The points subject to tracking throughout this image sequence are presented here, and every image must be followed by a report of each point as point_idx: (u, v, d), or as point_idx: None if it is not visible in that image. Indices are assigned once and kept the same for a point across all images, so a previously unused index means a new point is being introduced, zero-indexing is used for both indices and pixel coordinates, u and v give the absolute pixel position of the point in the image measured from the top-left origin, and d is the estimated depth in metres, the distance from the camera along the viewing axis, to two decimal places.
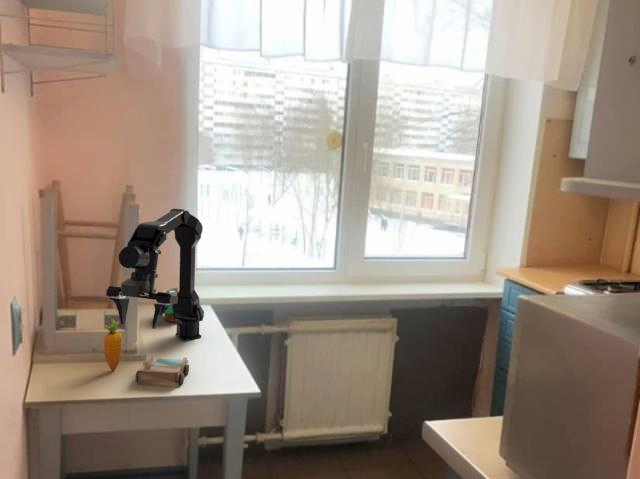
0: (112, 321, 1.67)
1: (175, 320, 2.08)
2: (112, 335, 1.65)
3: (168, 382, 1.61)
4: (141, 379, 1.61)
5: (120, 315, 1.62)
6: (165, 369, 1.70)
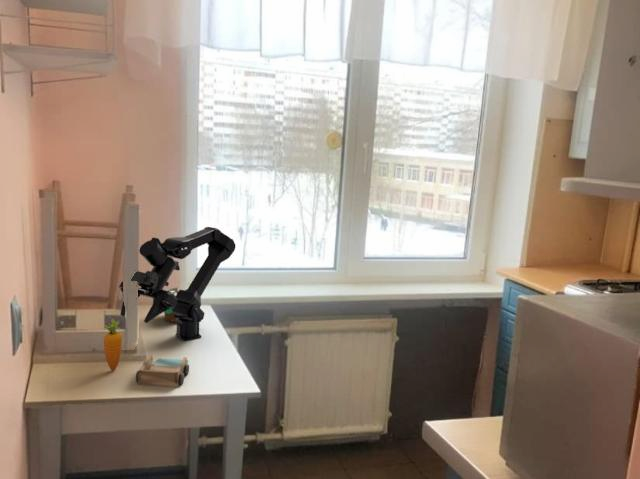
0: (112, 321, 1.67)
1: (175, 320, 2.08)
2: (112, 335, 1.65)
3: (168, 382, 1.61)
4: (141, 379, 1.61)
5: (123, 306, 1.75)
6: (165, 369, 1.70)
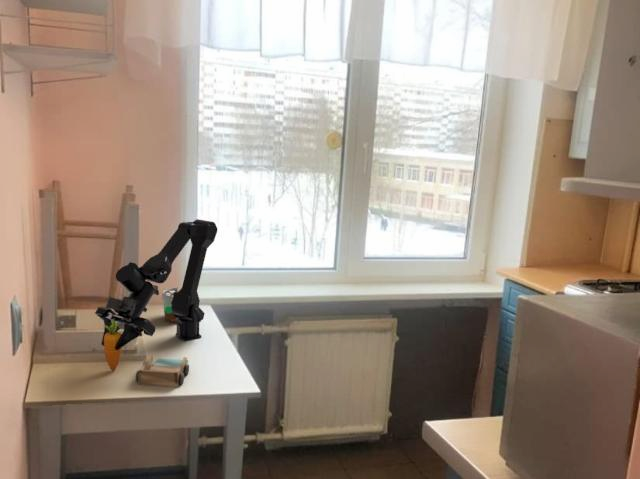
0: (112, 321, 1.67)
1: (175, 320, 2.08)
2: (112, 335, 1.65)
3: (168, 382, 1.61)
4: (141, 379, 1.61)
5: (104, 335, 1.68)
6: (165, 369, 1.70)
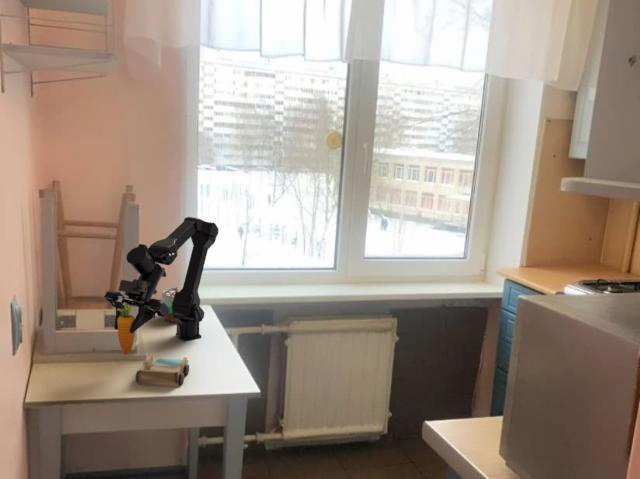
0: (125, 304, 1.64)
1: (175, 320, 2.08)
2: (126, 318, 1.63)
3: (168, 382, 1.61)
4: (141, 379, 1.61)
5: (116, 319, 1.65)
6: (165, 369, 1.70)
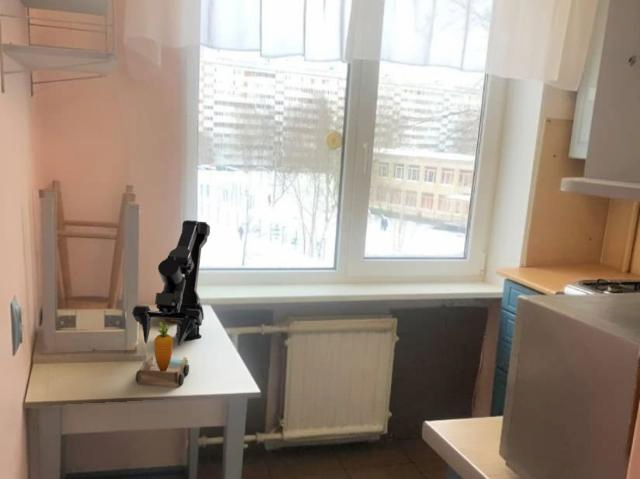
0: (161, 324, 1.64)
1: (175, 320, 2.08)
2: (166, 337, 1.63)
3: (168, 382, 1.61)
4: (141, 379, 1.61)
5: (144, 333, 1.64)
6: None
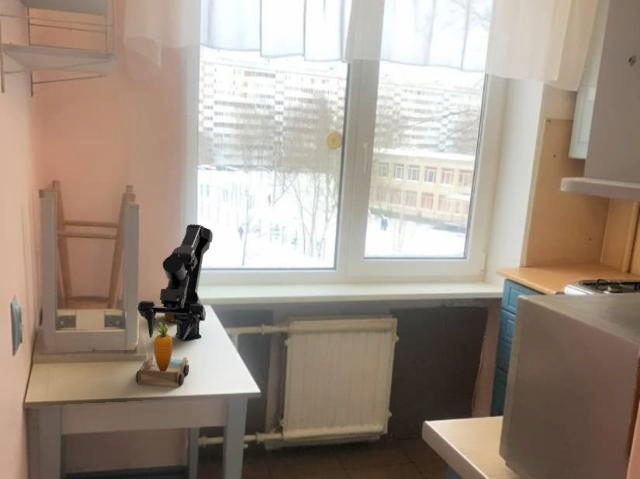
0: (160, 324, 1.64)
1: (175, 320, 2.08)
2: (166, 337, 1.63)
3: (168, 382, 1.61)
4: (141, 379, 1.61)
5: (149, 327, 1.69)
6: None
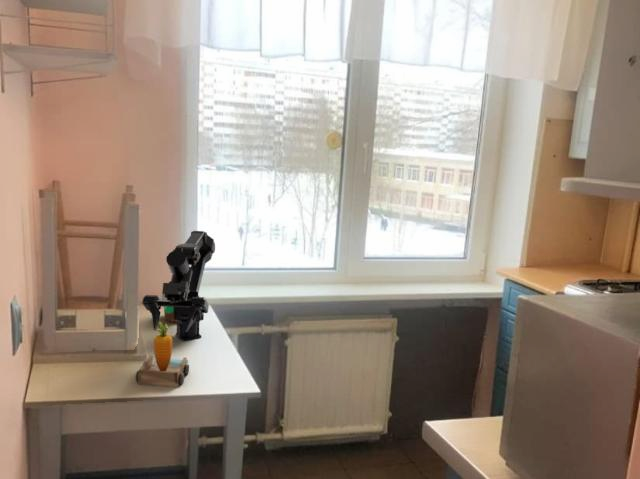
0: (160, 323, 1.64)
1: (175, 320, 2.08)
2: (165, 337, 1.64)
3: (168, 382, 1.61)
4: (141, 379, 1.61)
5: (154, 321, 1.74)
6: None
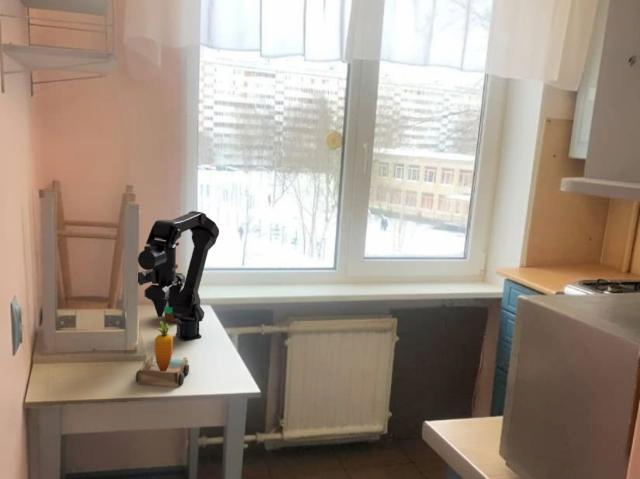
0: (161, 323, 1.65)
1: (175, 320, 2.08)
2: (166, 337, 1.64)
3: (168, 382, 1.61)
4: (141, 379, 1.61)
5: None
6: None
